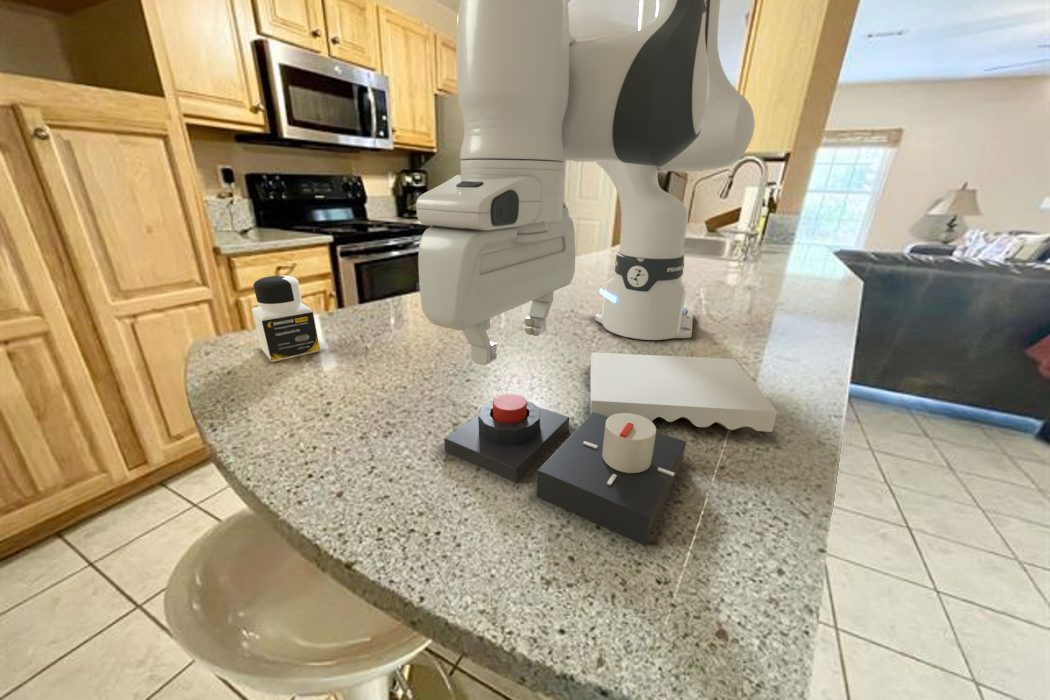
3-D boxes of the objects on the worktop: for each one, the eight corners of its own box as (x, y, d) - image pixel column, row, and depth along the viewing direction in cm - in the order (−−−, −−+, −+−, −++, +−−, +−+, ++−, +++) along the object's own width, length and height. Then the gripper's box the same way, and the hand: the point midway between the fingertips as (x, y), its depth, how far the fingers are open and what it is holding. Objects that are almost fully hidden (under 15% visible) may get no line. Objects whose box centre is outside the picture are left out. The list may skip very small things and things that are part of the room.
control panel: (590, 434, 47) (592, 410, 46) (684, 466, 42) (689, 440, 41) (536, 497, 38) (537, 468, 37) (648, 548, 33) (653, 517, 32)
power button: (505, 404, 47) (505, 390, 47) (532, 413, 45) (533, 399, 45) (486, 418, 44) (485, 403, 44) (514, 428, 43) (514, 414, 42)
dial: (612, 438, 41) (616, 405, 40) (656, 453, 39) (662, 418, 38) (594, 462, 38) (598, 426, 36) (643, 480, 36) (648, 442, 34)
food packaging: (590, 425, 50) (770, 438, 47) (591, 400, 48) (777, 411, 46) (590, 373, 63) (730, 380, 61) (591, 352, 62) (734, 358, 59)
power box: (504, 407, 53) (504, 382, 51) (569, 429, 48) (570, 403, 47) (444, 451, 44) (442, 423, 43) (516, 483, 40) (516, 453, 38)
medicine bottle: (271, 363, 64) (253, 285, 59) (261, 349, 69) (243, 276, 64) (320, 351, 68) (307, 278, 64) (307, 339, 73) (294, 270, 68)
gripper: (541, 194, 46) (537, 314, 51) (398, 201, 30) (414, 375, 35) (594, 196, 43) (584, 324, 48) (466, 205, 27) (473, 395, 32)
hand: (512, 346), depth 42 cm, fingers open, 8 cm apart
